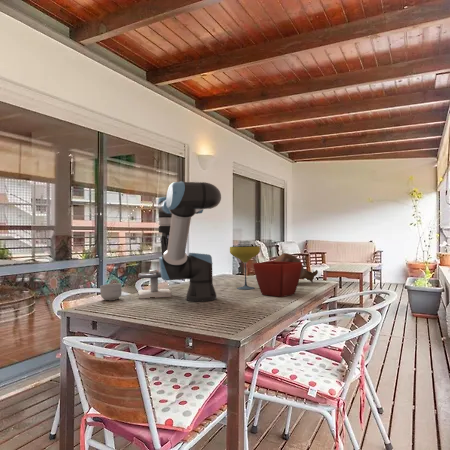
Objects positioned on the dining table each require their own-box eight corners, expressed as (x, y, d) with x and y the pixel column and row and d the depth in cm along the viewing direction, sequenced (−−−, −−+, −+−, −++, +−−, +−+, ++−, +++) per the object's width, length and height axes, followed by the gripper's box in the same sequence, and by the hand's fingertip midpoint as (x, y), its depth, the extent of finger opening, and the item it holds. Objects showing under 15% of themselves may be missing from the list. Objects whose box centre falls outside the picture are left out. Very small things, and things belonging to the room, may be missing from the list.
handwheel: (138, 278, 200) (138, 264, 201) (138, 275, 217) (137, 262, 217) (171, 277, 204) (170, 263, 205) (168, 274, 221) (167, 261, 221)
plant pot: (304, 293, 201) (303, 261, 202) (283, 298, 187) (282, 264, 188) (274, 291, 214) (273, 261, 215) (253, 295, 200) (252, 263, 201)
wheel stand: (171, 296, 204) (171, 277, 204) (138, 298, 200) (138, 279, 200) (168, 292, 221) (168, 274, 221) (138, 293, 217) (138, 276, 217)
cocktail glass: (262, 290, 219) (260, 246, 220) (230, 290, 219) (229, 247, 220) (259, 286, 237) (258, 245, 238) (230, 286, 237) (229, 246, 238)
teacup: (115, 301, 192) (115, 285, 193) (95, 301, 195) (95, 285, 195) (128, 297, 206) (127, 282, 206) (109, 297, 208) (109, 282, 208)
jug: (269, 285, 238) (317, 293, 237) (274, 255, 234) (322, 262, 233) (267, 275, 257) (311, 282, 257) (271, 247, 254) (316, 254, 253)
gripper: (155, 225, 214) (156, 268, 214) (162, 225, 203) (163, 269, 202) (168, 225, 218) (169, 267, 217) (175, 225, 206) (176, 269, 205)
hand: (166, 268), depth 209 cm, fingers closed
